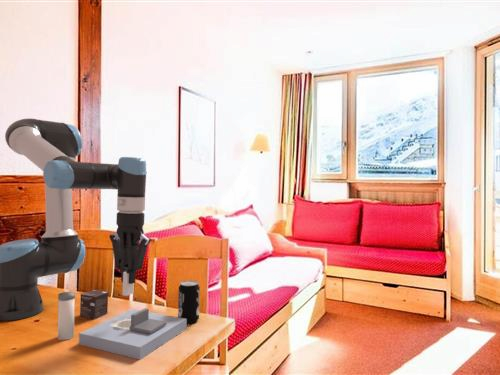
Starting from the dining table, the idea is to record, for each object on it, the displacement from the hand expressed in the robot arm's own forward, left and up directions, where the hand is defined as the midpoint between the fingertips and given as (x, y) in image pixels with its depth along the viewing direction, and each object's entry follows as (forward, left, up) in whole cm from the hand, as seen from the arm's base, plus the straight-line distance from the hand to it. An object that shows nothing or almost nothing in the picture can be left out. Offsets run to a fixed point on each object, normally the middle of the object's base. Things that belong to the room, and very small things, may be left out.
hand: (127, 294), depth 104 cm
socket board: (+3, 0, -11) cm, 12 cm away
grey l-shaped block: (+7, 0, -8) cm, 11 cm away
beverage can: (+10, +16, -12) cm, 23 cm away
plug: (-14, -9, -11) cm, 20 cm away
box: (-20, +7, -12) cm, 24 cm away
